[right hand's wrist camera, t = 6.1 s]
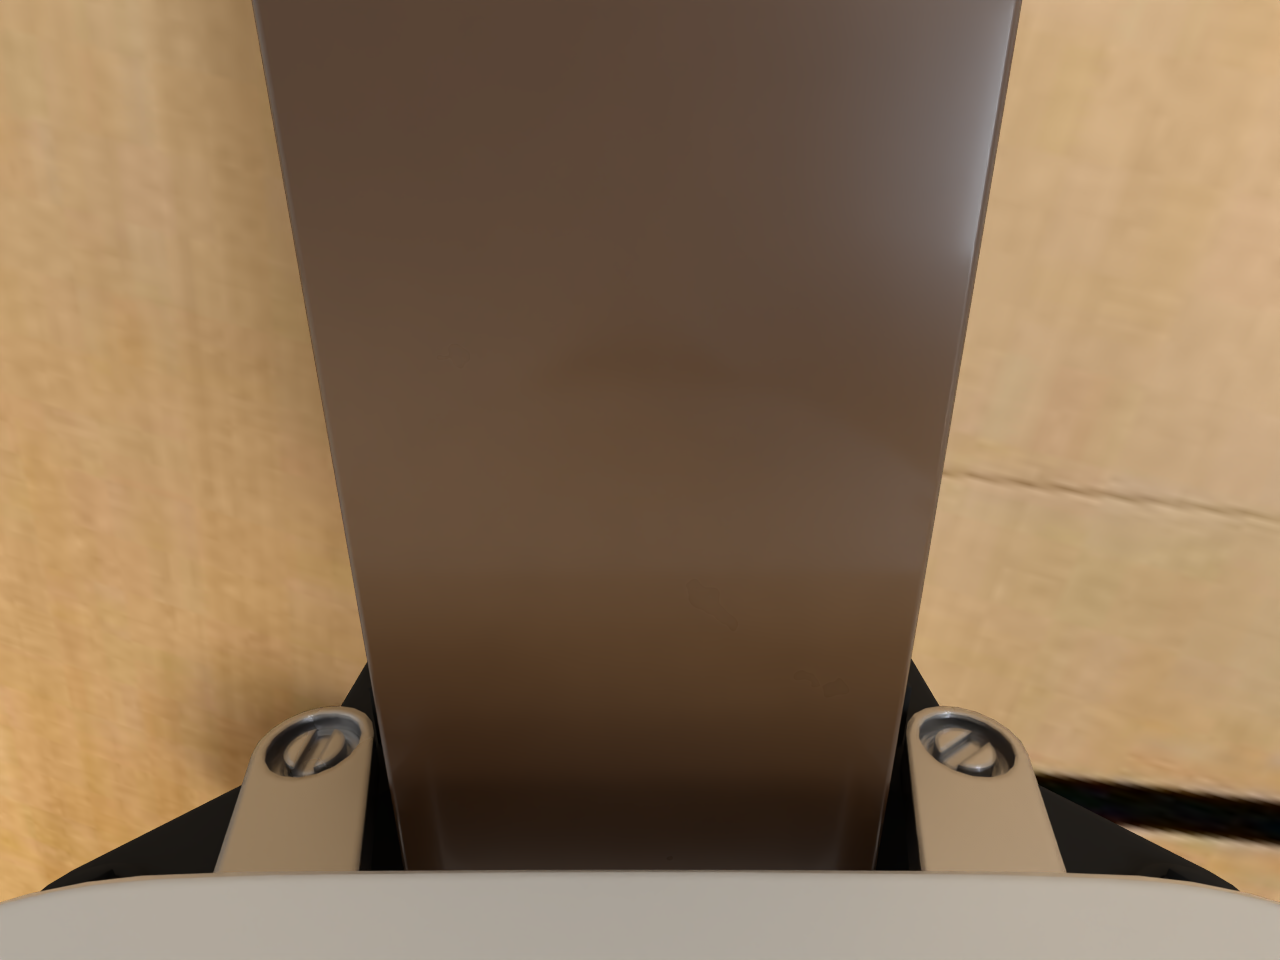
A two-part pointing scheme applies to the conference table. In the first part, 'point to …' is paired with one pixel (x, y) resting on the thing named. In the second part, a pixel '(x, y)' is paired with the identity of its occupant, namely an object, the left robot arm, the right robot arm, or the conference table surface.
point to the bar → (638, 400)
